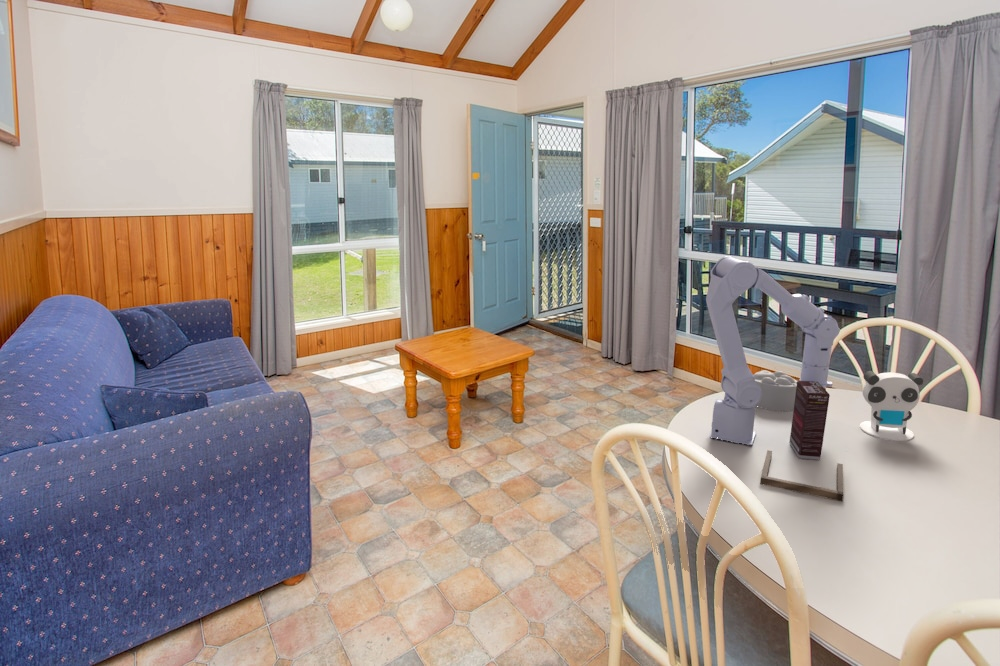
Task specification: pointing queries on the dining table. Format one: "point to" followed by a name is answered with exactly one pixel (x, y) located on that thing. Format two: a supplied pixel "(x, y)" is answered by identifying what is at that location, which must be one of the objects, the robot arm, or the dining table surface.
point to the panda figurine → (890, 404)
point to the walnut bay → (803, 487)
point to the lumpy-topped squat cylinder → (776, 390)
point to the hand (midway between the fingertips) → (809, 416)
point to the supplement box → (809, 419)
